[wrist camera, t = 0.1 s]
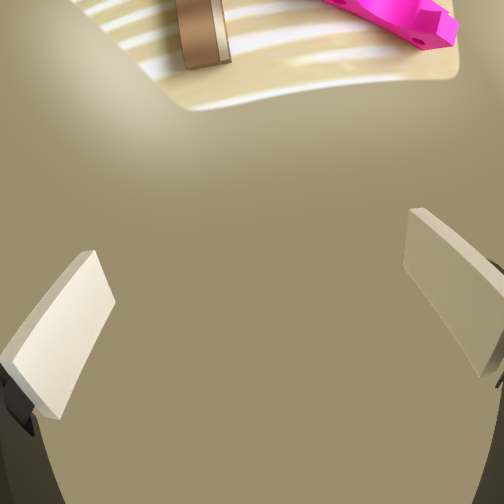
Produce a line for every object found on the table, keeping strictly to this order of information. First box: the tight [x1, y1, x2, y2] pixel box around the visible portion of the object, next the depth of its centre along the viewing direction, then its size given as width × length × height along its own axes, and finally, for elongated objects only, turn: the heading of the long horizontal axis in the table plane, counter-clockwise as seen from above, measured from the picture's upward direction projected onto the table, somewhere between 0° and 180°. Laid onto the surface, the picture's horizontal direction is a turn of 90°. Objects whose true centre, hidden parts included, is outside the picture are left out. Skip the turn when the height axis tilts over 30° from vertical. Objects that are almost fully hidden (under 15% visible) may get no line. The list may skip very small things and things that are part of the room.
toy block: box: [322, 0, 459, 51], centre depth 24 cm, size 15×6×8 cm, turn 73°
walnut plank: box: [175, 0, 232, 70], centre depth 26 cm, size 16×5×3 cm, turn 8°
